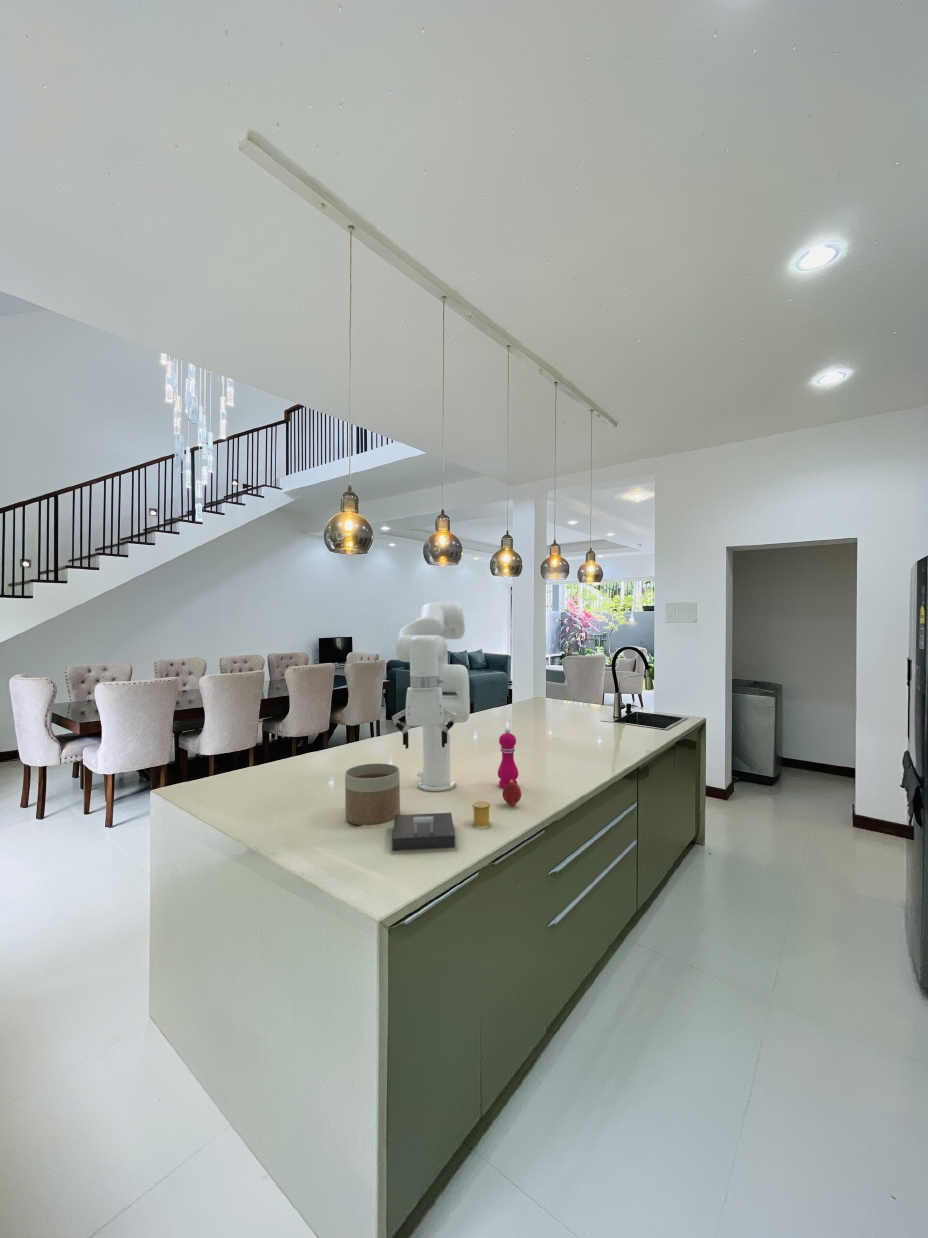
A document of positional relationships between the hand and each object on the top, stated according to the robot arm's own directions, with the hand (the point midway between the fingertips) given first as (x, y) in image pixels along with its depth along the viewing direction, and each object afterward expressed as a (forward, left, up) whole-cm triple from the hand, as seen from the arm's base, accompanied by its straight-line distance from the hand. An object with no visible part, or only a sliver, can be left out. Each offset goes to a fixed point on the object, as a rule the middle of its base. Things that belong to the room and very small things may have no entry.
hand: (425, 747), depth 137 cm
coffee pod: (+6, +16, -24) cm, 30 cm away
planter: (-23, +1, -24) cm, 34 cm away
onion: (+4, +34, -24) cm, 42 cm away
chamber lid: (0, -1, -21) cm, 21 cm away
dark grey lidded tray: (0, -1, -24) cm, 24 cm away
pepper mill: (-8, +49, -24) cm, 55 cm away
